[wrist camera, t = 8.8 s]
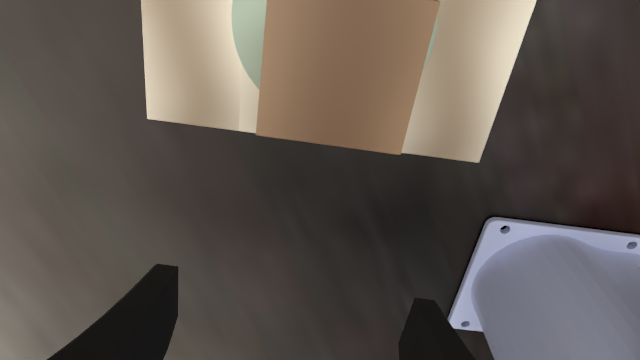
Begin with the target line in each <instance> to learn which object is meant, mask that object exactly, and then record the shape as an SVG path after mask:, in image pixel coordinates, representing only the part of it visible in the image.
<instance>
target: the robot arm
mask: <svg viewBox="0 0 640 360" xmlns="http://www.w3.org/2000/svg"><path fill="white" fill-rule="evenodd" d="M503 226H507V227H506V228H505V229H501V228H502V227H503ZM630 242H631V243H630ZM629 243H630V244H629ZM177 317H178V267H177V266H170V265H162V264H157V265H155V266H154V267H153V268H152V269H151V270H150V271H149V272H148V273H147V274H146V275H145V276H144V277H143V278H142V279H141V280H140V281H139V282H138V283H137V284H136V285H135V286H134V287H133V288H132V289H131V290H130V291H129V292H128V293H127V294H126V295H125V296H124V297H123V298H122V299H120V300H119V301H118V302H117V303H116V304H115V305H114V306H113V307H112V308H111V309H110V310H109V311H107V312H106V313H105V314H104V315H103V316H102V317H101V318H99V319H98V320H97V321H96V322H95V323H93V324H92V325H91V326H90V327H89V328H87V329H86V330H85V331H84V332H83V333H81V334H80V335H79V336H78V337H77V338H75V339H74V340H73V341H71V342H70V343H69V344H67V345H66V346H65V347H63V348H62V349H61V350H59V351H58V352H57V353H55V354H54V355H53V356H51V357H50V358H48V359H47V360H163V358H164V356H165V354H166V351H167V349H168V346H169V343H170V340H171V337H172V334H173V330H174V327H175V324H176V320H177ZM464 321H466V322H464ZM453 328H455V329H464V330H473V331H482V332H484V335H485V337H486V340H487V342H488V345H489V347H490V350H491V352H492V355H493V357H494V360H640V235H636V234H628V233H620V232H612V231H604V230H596V229H588V228H580V227H572V226H564V225H556V224H548V223H541V222H533V221H525V220H517V219H509V218H501V217H492V218H490V219H488V220H487V221H486V222H485V224H484V227H483V229H482V232H481V234H480V237H479V240H478V242H477V245H476V247H475V250H474V252H473V255H472V257H471V260H470V263H469V265H468V268H467V270H466V273H465V275H464V278H463V280H462V283H461V286H460V288H459V291H458V293H457V296H456V298H455V301H454V303H453V306H452V309H451V311H450V314H449V316H448V320H447V318H446V317H445V315H444V314H443V312H442V311H441V309H440V308H439V307H438V305H437V304H436V302H435V301H434V300H427V299H420V298H415V299H414V302H413V305H412V307H411V310H410V313H409V316H408V319H407V321H406V324H405V327H404V330H403V332H402V335H401V338H400V341H399V360H476V359H475V358H474V357H473V355H472V354H471V353H470V351H469V350H468V349H467V347H466V346H465V344H464V343H463V342H462V340H461V339H460V337H459V336H458V334H457V333H456V331H455V330H454V329H453Z"/></svg>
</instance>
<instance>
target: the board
mask: <svg viewBox="0 0 640 360" xmlns="http://www.w3.org/2000/svg"><path fill="white" fill-rule="evenodd" d="M439 1H440V6H439V10H438V13H437V17H436V21H435V25H434V29H433V33H432V36H431V40H430V44H429V48H428V52H427V56H426V59H425V63H424V67H423V71H422V75H421V79H420V82H419V86H418V90H417V94H416V98H415V102H414V105H413V109H412V113H411V117H410V121H409V125H408V128H407V132H406V136H405V140H404V144H403V148H402V151H401V153H408V154H416V155H423V156H431V157H438V158H446V159H453V160H461V161H469V162H476V163H479V161H480V158H481V156H482V153H483V150H484V147H485V144H486V141H487V139H488V136H489V133H490V130H491V127H492V125H493V122H494V119H495V116H496V113H497V110H498V108H499V105H500V102H501V99H502V96H503V94H504V91H505V88H506V85H507V82H508V79H509V77H510V74H511V71H512V68H513V65H514V63H515V60H516V57H517V54H518V51H519V48H520V46H521V43H522V40H523V37H524V34H525V32H526V29H527V26H528V23H529V20H530V17H531V15H532V12H533V9H534V6H535V3H536V1H537V0H439ZM266 4H267V0H141V8H142V27H143V47H144V66H145V86H146V105H147V119H153V120H160V121H168V122H175V123H183V124H190V125H198V126H206V127H213V128H221V129H228V130H236V131H243V132H251V133H256V126H257V114H258V102H259V89H260V77H261V65H262V53H263V41H264V28H265V16H266Z"/></svg>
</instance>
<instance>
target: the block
mask: <svg viewBox="0 0 640 360" xmlns="http://www.w3.org/2000/svg"><path fill="white" fill-rule="evenodd" d="M439 6H440V1H439V0H267V4H266V16H265V28H264V41H263V53H262V65H261V77H260V89H259V102H258V114H257V126H256V135H259V136H266V137H273V138H280V139H288V140H295V141H302V142H310V143H317V144H324V145H332V146H339V147H346V148H353V149H361V150H368V151H375V152H383V153H390V154H397V155H401V151H402V148H403V144H404V140H405V136H406V132H407V128H408V125H409V121H410V117H411V113H412V109H413V105H414V102H415V98H416V94H417V90H418V86H419V82H420V79H421V75H422V71H423V67H424V63H425V59H426V56H427V52H428V48H429V44H430V40H431V36H432V33H433V29H434V25H435V21H436V17H437V13H438V10H439Z"/></svg>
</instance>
